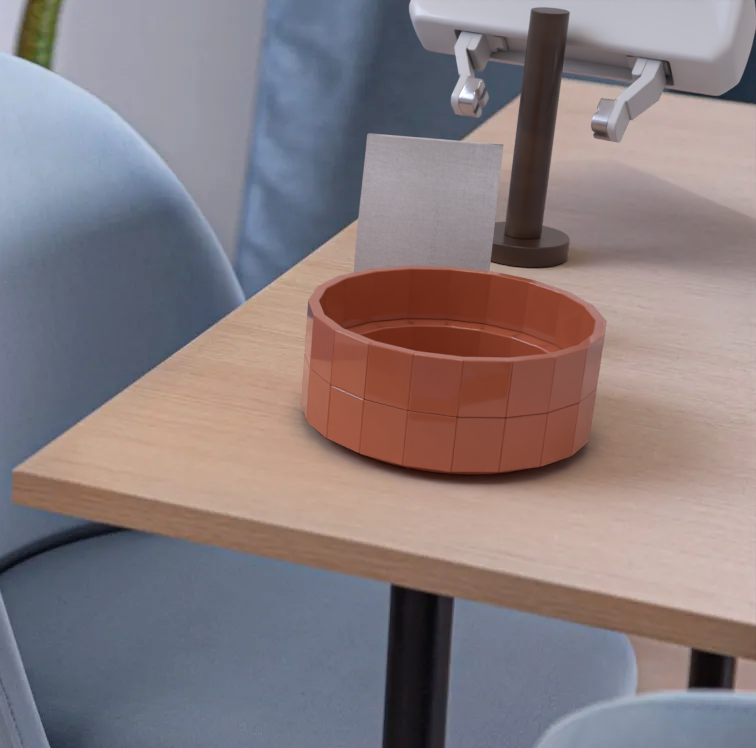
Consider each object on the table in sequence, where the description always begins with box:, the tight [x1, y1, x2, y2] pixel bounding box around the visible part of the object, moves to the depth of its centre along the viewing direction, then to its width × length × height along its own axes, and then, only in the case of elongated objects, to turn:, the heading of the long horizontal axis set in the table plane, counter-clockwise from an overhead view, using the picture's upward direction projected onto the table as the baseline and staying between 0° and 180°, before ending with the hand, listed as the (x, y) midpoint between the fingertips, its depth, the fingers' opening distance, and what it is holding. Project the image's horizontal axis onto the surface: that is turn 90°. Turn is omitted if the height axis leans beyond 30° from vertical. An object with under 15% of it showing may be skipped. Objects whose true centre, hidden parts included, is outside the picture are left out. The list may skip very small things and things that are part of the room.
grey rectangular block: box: [353, 132, 504, 272], centre depth 90 cm, size 4×7×10 cm, turn 81°
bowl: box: [300, 266, 607, 476], centre depth 79 cm, size 13×13×6 cm
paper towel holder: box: [490, 7, 571, 268], centre depth 103 cm, size 6×6×14 cm
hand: (532, 122), depth 102 cm, fingers open, 7 cm apart
